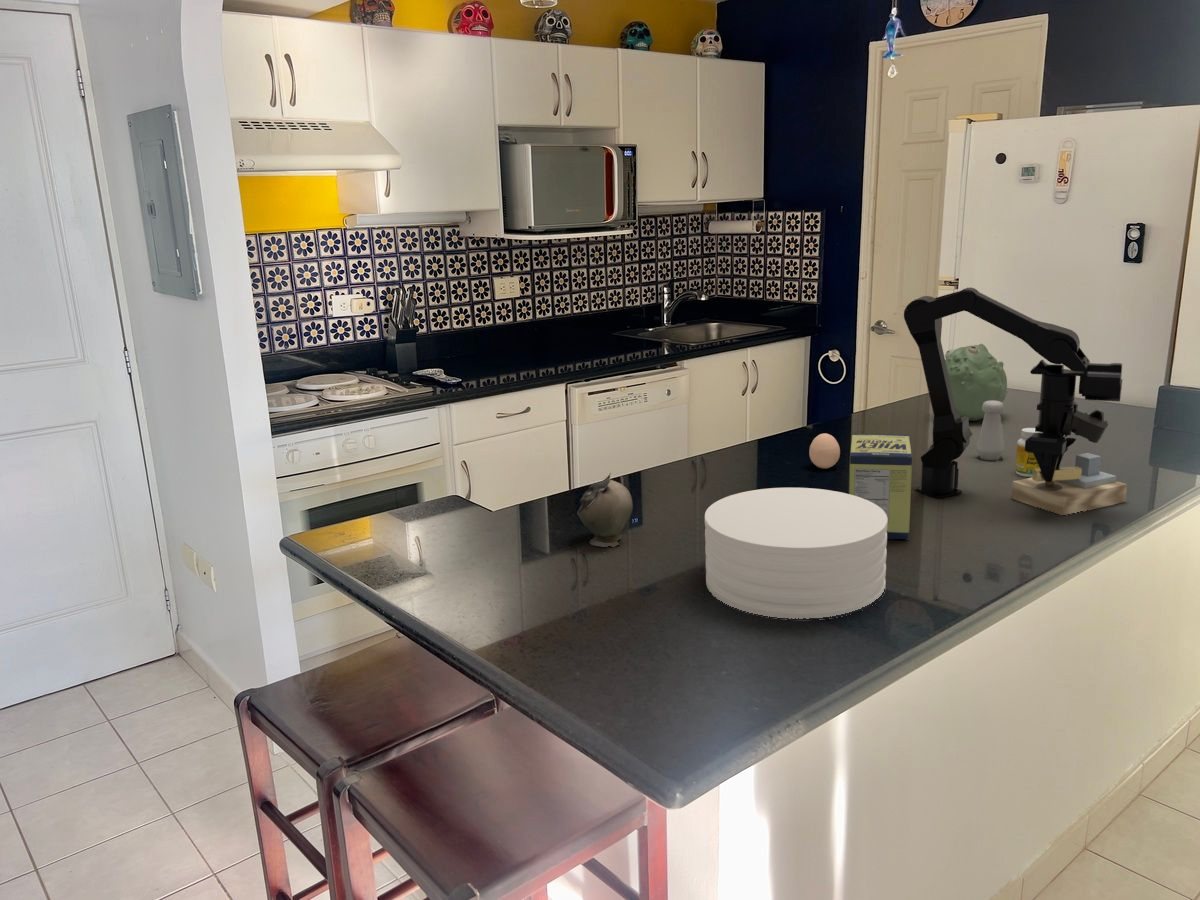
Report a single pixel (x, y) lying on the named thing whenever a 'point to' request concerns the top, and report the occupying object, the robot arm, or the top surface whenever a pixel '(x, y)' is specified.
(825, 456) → the egg
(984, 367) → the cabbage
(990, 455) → the salt shaker
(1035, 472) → the tan wooden bar
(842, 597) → the plate stack
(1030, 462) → the supplement bottle
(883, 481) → the protein box
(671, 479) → the top surface
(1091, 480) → the lid
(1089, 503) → the birch box
